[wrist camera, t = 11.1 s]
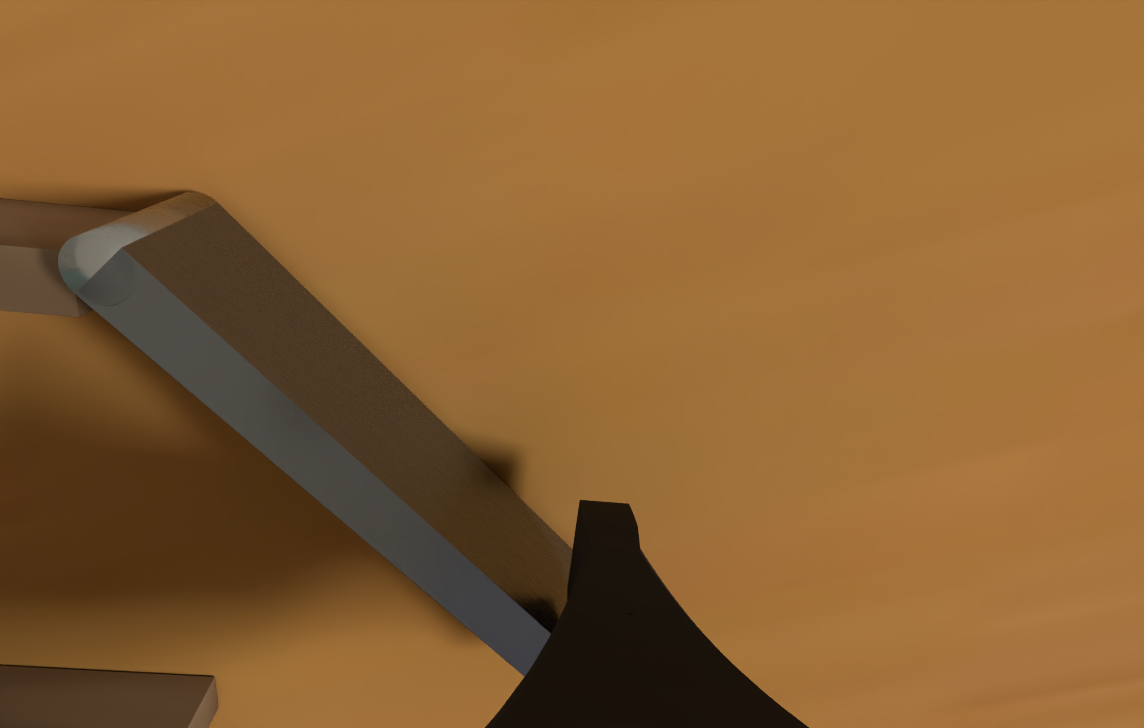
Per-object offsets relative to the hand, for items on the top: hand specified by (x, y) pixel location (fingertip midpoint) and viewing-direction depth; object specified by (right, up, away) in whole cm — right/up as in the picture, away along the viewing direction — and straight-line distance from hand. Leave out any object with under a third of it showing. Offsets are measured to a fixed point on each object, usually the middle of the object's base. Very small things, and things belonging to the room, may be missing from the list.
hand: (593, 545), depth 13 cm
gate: (-3, +2, +1) cm, 4 cm away
